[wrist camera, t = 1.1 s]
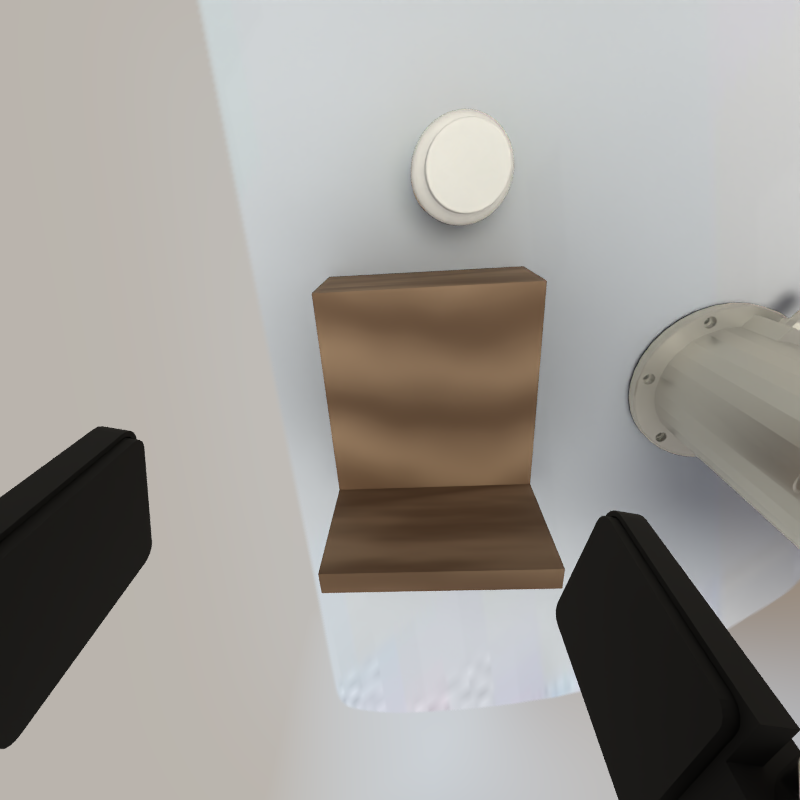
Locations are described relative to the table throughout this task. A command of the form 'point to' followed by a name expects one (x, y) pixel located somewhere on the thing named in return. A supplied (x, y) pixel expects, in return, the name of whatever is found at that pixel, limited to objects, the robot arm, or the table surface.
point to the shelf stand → (434, 431)
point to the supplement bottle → (462, 167)
